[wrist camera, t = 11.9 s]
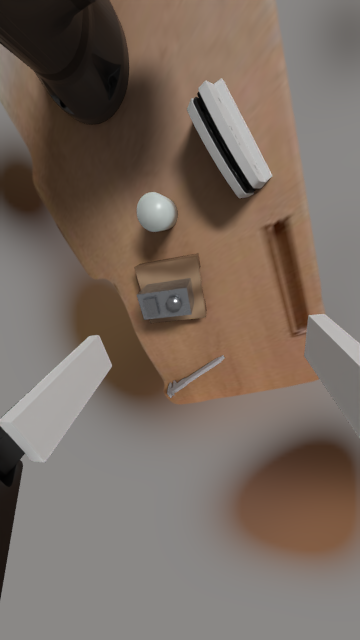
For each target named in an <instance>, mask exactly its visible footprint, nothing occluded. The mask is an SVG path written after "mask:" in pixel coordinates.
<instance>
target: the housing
mask: <svg viewBox="0 0 360 640" xmlns="http://www.w3.org/2000/svg"><path fill="white" fill-rule="evenodd" d="M137 297H138V301H139V304H140V307H141V311H142V314H143V317H144V320H146V319H155V318H164V317H174V316H183V315H192V311H193V306H194V302H195V301H194V295H193V289H192V283H191V278H186V279H180V280H173V281H166V282H160V283H153V284H147V285H146V286H145V287H144V288H143V289H142V290H141V291H140V292H139V293H138V294H137Z"/></svg>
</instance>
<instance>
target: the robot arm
mask: <svg viewBox="0 0 360 640" xmlns="http://www.w3.org/2000/svg"><path fill="white" fill-rule="evenodd" d="M0 44H2V45H3V46H4V47H5V48H7V49H8V50H9V51H10V52H11V53H13V54H14V55H15V56H16V57H18V58H19V59H20V60H21V61H23V62H24V63H25V64H26V65H27V66H29V67H30V68H31V69H32V70H34V72H35V73H36V75H37V76H38V78H39V79H40V81H41V82H42V84H43V85H44V87H45V88H46V90H47V91H48V93H49V94H50V96H51V97H52V98H53V100H54V101H55V102H56V103H57V104H58V105H59V106H60V107H61V108H62V109H63V110H64V111H65V112H66V113H68V114H69V115H71V116H72V117H73V118H75V119H76V120H78V121H80V122H83V123H86V124H99V123H102V122H104V121H106V120H107V119H109V118H110V117H111V116H112V115H113V114H114V113H115V112H116V111H117V109H118V108H119V106H120V104H121V102H122V100H123V98H124V95H125V92H126V88H127V83H128V75H129V57H128V48H127V43H126V39H125V35H124V32H123V29H122V26H121V23H120V21H119V19H118V17H117V15H116V12H115V10H114V8H113V6H112V4H111V2H110V0H0ZM304 356H305V358H306V359H307V361H308V362H309V364H310V365H311V367H312V368H313V370H314V371H315V373H316V374H317V376H318V377H319V379H320V380H321V382H322V383H323V385H324V386H325V388H326V389H327V391H328V392H329V393H330V395H331V396H332V398H333V399H334V401H335V402H336V404H337V405H338V407H339V408H340V410H341V411H342V413H343V414H344V416H345V417H346V419H347V420H348V422H349V423H350V425H351V426H352V428H353V429H354V431H355V432H356V434H357V435H358V437H359V438H360V343H358V342H357V341H356V340H355V339H354V338H352V337H351V336H350V335H349V334H347V332H345V331H344V330H343V329H342V328H341V327H339V326H338V325H337V324H336V323H334V322H333V321H332V320H331V319H330V318H328V317H327V316H326V315H325V314H318V315H309V316H308V325H307V335H306V344H305V353H304ZM111 367H112V365H111V362H110V360H109V358H108V355H107V353H106V351H105V348H104V346H103V344H102V341H101V339H100V337H99V335H96V336H89V337H88V338H87V339H86V340H85V341H84V342H82V343H81V344H80V345H79V346H78V347H77V348H76V349H75V350H74V351H73V352H72V353H71V354H70V355H69V356H68V357H66V358H65V359H64V360H63V361H62V362H61V363H60V364H59V365H58V366H57V367H56V368H55V369H53V370H52V371H51V372H50V373H49V374H48V375H47V376H46V377H45V378H44V379H43V380H42V381H40V382H39V383H38V384H37V385H36V386H35V387H33V389H31V390H30V391H29V392H28V393H27V394H26V395H25V396H24V397H23V398H22V399H21V400H20V401H19V402H17V403H16V404H15V405H14V406H13V407H12V408H11V409H10V410H9V411H8V412H7V413H5V414H4V415H3V416H2V417H1V418H0V598H1V592H2V586H3V580H4V574H5V569H6V563H7V557H8V551H9V544H10V539H11V533H12V527H13V521H14V515H15V509H16V503H17V498H18V492H19V486H20V480H21V473H22V468H23V464H22V461H20V459H21V458H22V456H23V455H24V454H26V455H27V457H28V458H29V459H30V460H31V461H36V462H46V460H47V459H48V457H49V456H50V454H51V453H52V452H53V450H54V449H55V447H56V446H57V444H58V443H59V442H60V440H61V439H62V437H63V436H64V434H65V433H66V432H67V430H68V429H69V427H70V426H71V424H72V423H73V422H74V420H75V419H76V417H77V416H78V414H79V413H80V411H81V410H82V409H83V407H84V406H85V404H86V403H87V401H88V400H89V399H90V397H91V396H92V394H93V393H94V391H95V390H96V388H97V387H98V386H99V384H100V383H101V381H102V380H103V378H104V377H105V375H106V374H107V373H108V371H109V370H110V368H111Z"/></svg>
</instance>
